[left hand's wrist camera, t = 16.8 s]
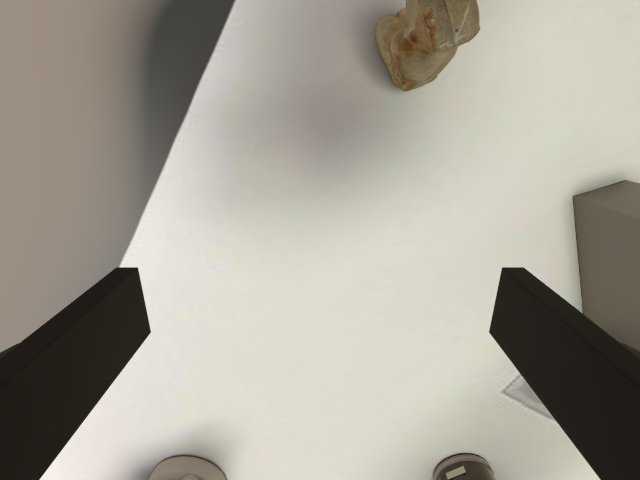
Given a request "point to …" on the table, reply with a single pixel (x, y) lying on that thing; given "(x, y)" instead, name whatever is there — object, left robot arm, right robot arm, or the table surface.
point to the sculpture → (425, 38)
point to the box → (610, 258)
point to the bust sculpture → (186, 470)
